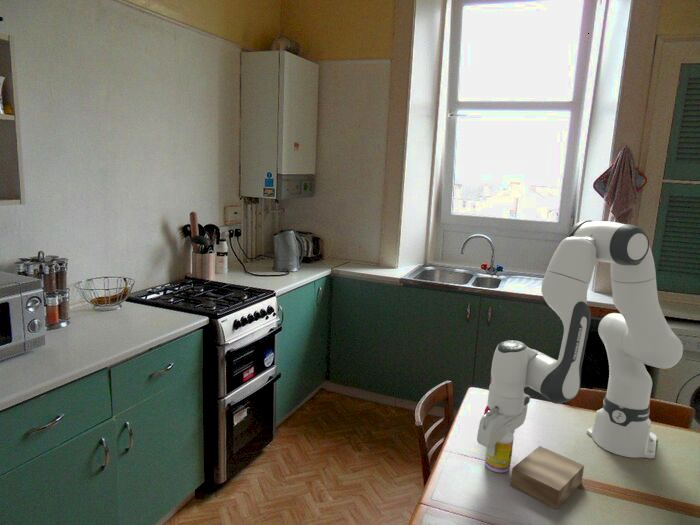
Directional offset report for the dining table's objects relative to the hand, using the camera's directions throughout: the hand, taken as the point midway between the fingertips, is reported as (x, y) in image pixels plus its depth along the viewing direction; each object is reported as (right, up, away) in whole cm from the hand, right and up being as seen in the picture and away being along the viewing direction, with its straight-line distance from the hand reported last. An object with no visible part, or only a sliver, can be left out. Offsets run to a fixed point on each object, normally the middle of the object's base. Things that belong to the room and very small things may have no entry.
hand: (499, 449), depth 136 cm
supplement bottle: (0, -5, +1) cm, 5 cm away
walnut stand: (+11, -7, -5) cm, 14 cm away
